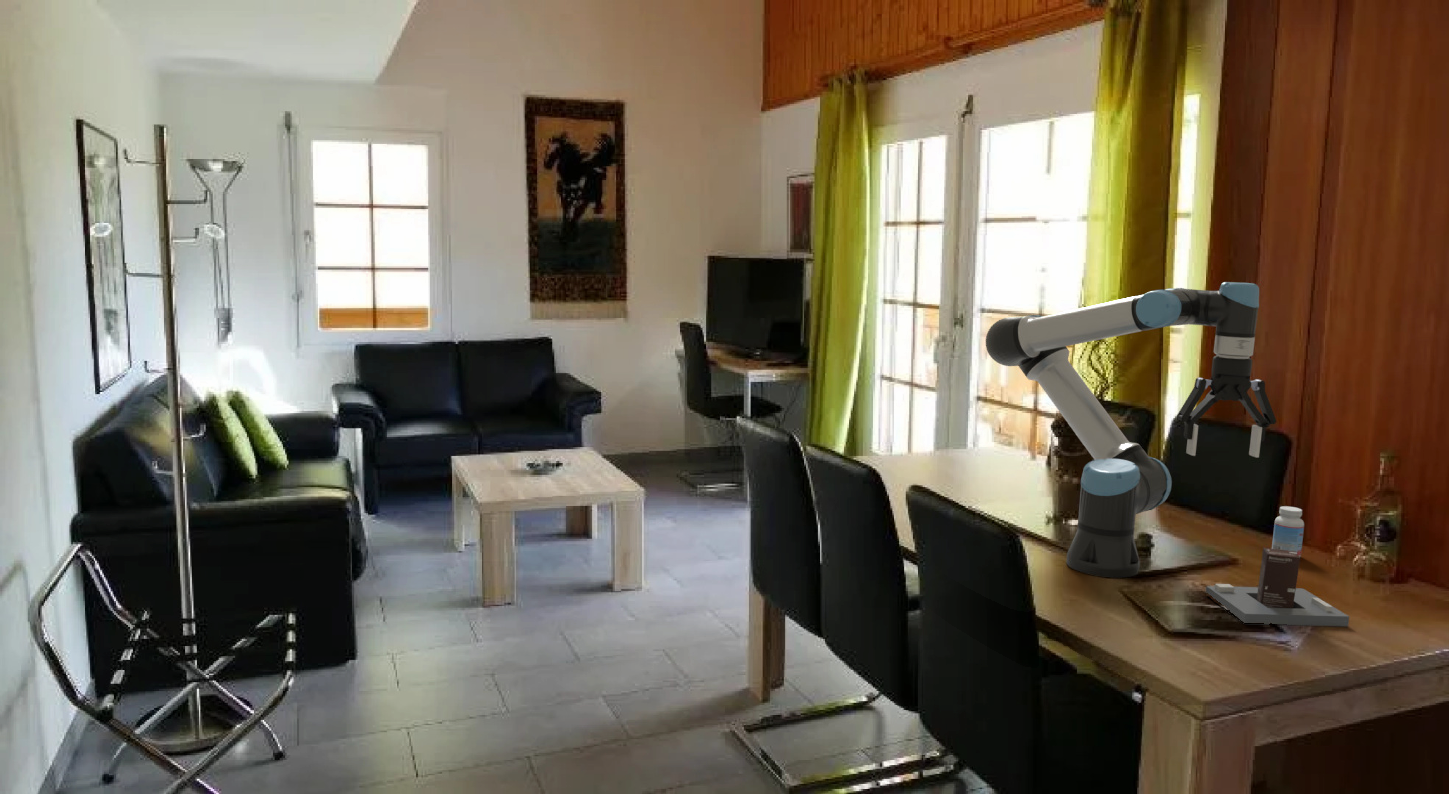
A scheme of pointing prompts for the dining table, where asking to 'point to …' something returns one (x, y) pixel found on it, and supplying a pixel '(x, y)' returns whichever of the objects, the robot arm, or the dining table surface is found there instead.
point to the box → (1278, 578)
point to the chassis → (1252, 611)
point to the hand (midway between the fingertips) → (1222, 455)
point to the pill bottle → (1288, 530)
